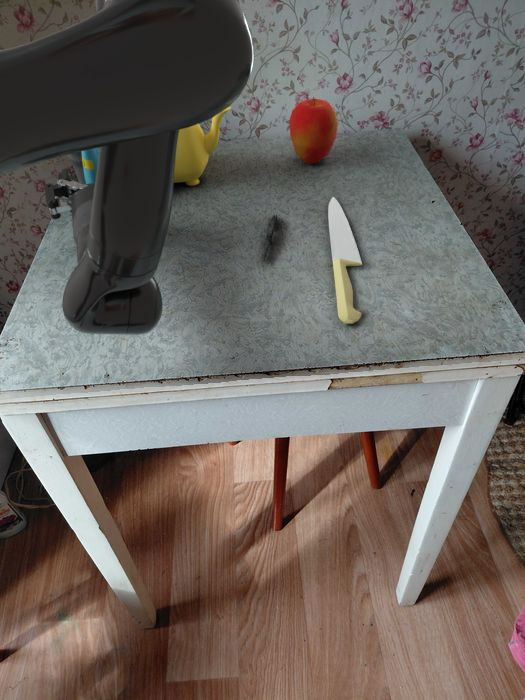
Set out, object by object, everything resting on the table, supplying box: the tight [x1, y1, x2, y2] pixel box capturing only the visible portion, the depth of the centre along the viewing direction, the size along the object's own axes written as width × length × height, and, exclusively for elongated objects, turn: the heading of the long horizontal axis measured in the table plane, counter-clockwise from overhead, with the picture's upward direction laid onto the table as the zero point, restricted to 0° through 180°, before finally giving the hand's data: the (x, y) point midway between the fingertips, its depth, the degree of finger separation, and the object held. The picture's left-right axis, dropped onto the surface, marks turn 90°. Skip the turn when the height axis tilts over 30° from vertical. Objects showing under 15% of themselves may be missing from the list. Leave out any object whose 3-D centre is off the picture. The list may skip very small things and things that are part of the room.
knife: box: [327, 196, 363, 325], centre depth 82 cm, size 1×32×5 cm
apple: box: [288, 96, 339, 165], centre depth 100 cm, size 9×9×12 cm
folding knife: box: [263, 214, 278, 263], centre depth 84 cm, size 13×1×2 cm, turn 171°
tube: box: [81, 147, 100, 184], centre depth 80 cm, size 7×5×19 cm, turn 23°
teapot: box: [174, 106, 232, 186], centre depth 97 cm, size 14×20×13 cm
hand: (94, 169), depth 81 cm, fingers open, 8 cm apart
